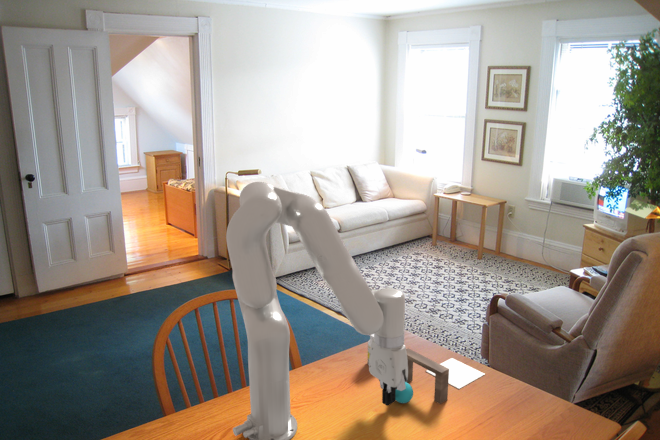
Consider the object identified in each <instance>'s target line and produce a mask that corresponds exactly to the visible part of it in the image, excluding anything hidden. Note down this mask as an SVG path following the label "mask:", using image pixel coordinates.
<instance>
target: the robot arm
mask: <svg viewBox="0 0 660 440" xmlns="http://www.w3.org/2000/svg"><path fill="white" fill-rule="evenodd" d="M238 198H239V207H238V209H237V210H236V211H234V213H233V215H232V216H231V218H230V220H229V223H228V225H227V229H226V233H225V234H226V235H225V238H226V239H225V240H226V246H227V251H228V255H229V260H230V265H231V268H232V272H231V273H232V281H233V286H234V288H235V292H236V296H237V300H238V303H239V307H240V311H241V315H242V318H243V323H244V327H245V331H246V337H247V363H248V367H247V368H248V382H249V398H250V400H249V401H250V413H249V414H247V415H246V420H245V421H244V422H243V423H242V424H239V425H237V426H234V427H233V428H232V432H233V435H234V436H235V437H237V436H239V435H241V434H242V436H243V437H244V439H248V440H291V439H292V438H293V437H294V436H295V435H296V432H297V430H298V421H297V419H296V418H295V416H294V415H292V413H291V392H290V391H291V389H290V386H291V385H290V343H291V333H290V332H291V331H290V326H289V323H288V319H287V318H286V316H285V313H284V312H283V310H282V307H281V304H280V300H279V298H278V293H277V288H278V287H277V279H276V276H275V275H276V274H275V272H274V270H273V267H272V263H271V259H270V256H269V250H268V247H267V246H268V244H267V234H268V233H269V230H270V229H271V228H272V227H273V226H274V225H275V224H280V225H284V226H289V227H292V229H293V231H294V232H295V234H296V236H297V238H298V239H299V241H300V243H301V244H302V247H303V248H304V249H305V252H306V254H307V255H308V256H309V258H310V260H311V262H312V263H313V265H314V267H315V268H316V271H317V272H318V274H319V276H320V277H321V278H322V280H323V281H324V283H325V284H326V285H327V286H328V287H329V289H330V290H331V291H332V292H333V294H334V296H335V297H336V299H337V300H338V302H339V304H340V309H341V311H342V313H343V315H345V318H346V319H347V320H348V321H349V323H350V324H351V325H352V326H353V327H352V328H354V329H355V331H356V332H357V333H359V334H361V335H365V336H370V335H372V334H374V338H373V340H372V343H371V347H370V356H369V365H368V371H369V373H370V375H372V376H373V377H374V378H376V379H377V380H378V381H379V386H380V389H382V391H381V393H382V394H381V397H382V399H381V400H382V404H384V405H385V406H390V405H391V404H393V403H395V402H396V400H395V396H396V389H397V390H400V391H403V390H405V389H406V386H405V382H407V379H408V360H407V352H406V349H407V347H406V345H405V314H406V313H405V309H406V297H405V294H404V292H403V291H401V290H400V289H396V288H390V287H387V288H386V287H385V288H381V289H379V290H376V289H375V290H373V289H372V290H371V288H370V287H369V285H368V283H367V281H366V280H365V278H364V277H363V274H362V273H361V271H360V269H359V267H358V266H357V264H356V261H355V260H354V258H353V257H352V255H351V253H350V251H349V249H348V248H347V246H346V245H345V243H344V241H343V239H342V237H341V235H340V232H339V231H338V229H337V228H336V226H335V224H334V222H333V220H332V218H331V216H330V215H329V213H328V211H327V209H325V207H324V206H323V205H322V204H321V203H319V201H317V200H316V199H315V198H314V197H312V196H310V195H307V194H304V193H299V192H296V191H293V190H289V189H287V188H286V189H285V188H283V187H280V186H276V185H274V184H270V183H267V182H264V181H263V182H262V181H254V182H253V181H252V182H249V183H248V184H247V185H246V186H244V187H243V188H242V190H241V191H240V193H239V197H238Z"/></svg>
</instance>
